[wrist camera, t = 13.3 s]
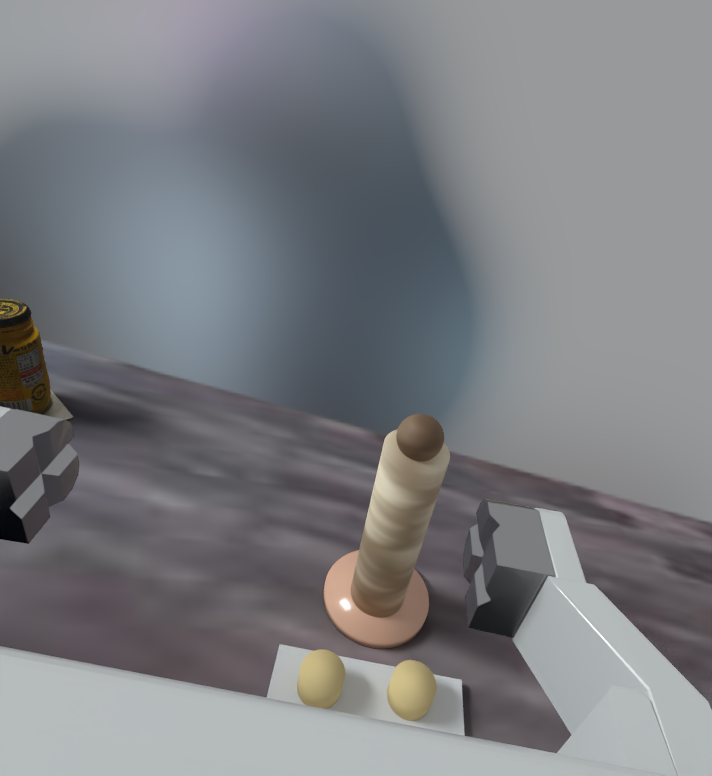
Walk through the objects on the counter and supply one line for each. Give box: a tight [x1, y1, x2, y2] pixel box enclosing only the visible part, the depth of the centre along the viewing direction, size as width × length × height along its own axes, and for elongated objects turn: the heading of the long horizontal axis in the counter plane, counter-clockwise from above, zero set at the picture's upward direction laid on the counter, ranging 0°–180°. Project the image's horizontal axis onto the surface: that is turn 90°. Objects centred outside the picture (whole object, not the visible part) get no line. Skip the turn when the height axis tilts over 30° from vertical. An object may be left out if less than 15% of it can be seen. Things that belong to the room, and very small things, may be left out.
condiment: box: [0, 299, 73, 420], centre depth 55 cm, size 7×8×12 cm
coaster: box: [323, 550, 429, 649], centre depth 45 cm, size 9×9×1 cm
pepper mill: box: [350, 414, 450, 618], centre depth 39 cm, size 5×5×19 cm
